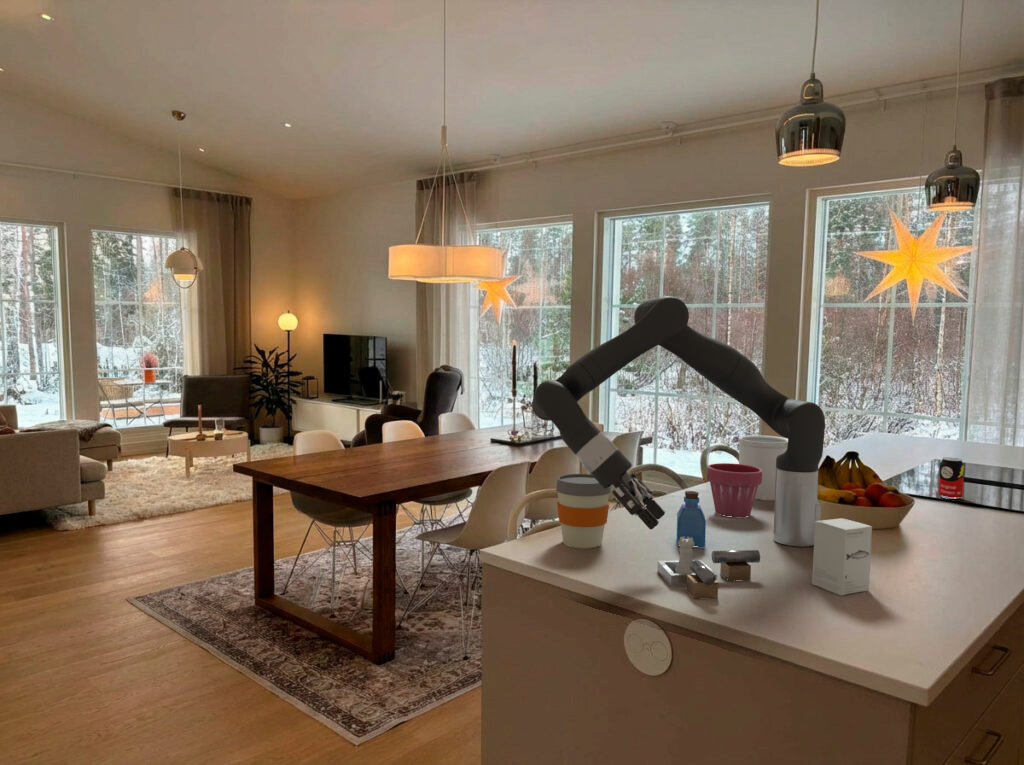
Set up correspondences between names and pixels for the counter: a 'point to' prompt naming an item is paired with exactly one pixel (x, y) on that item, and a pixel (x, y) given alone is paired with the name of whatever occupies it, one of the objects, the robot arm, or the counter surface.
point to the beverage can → (951, 477)
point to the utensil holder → (762, 459)
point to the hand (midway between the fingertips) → (658, 521)
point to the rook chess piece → (685, 555)
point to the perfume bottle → (691, 520)
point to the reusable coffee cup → (582, 510)
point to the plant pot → (734, 487)
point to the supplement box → (842, 556)
